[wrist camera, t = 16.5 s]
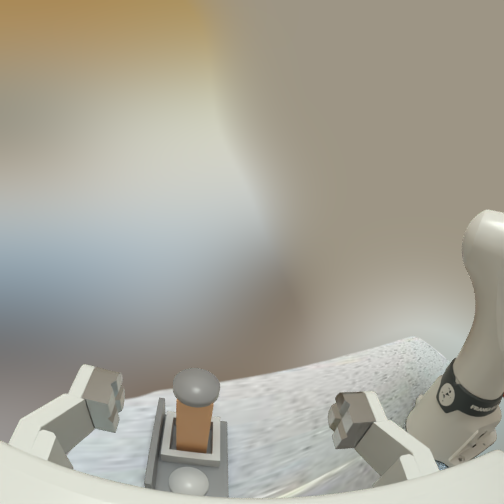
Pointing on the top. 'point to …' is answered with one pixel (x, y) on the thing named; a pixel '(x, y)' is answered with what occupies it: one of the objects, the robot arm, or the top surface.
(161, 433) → the housing
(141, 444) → the top surface
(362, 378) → the top surface
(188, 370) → the grey-capped orange post
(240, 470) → the top surface
